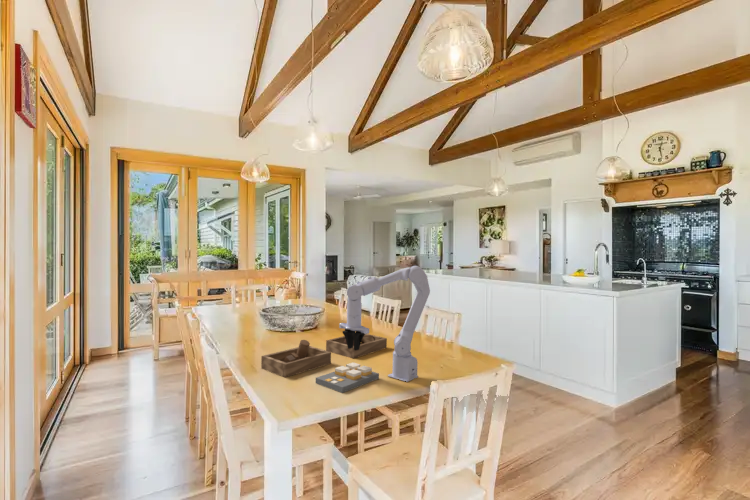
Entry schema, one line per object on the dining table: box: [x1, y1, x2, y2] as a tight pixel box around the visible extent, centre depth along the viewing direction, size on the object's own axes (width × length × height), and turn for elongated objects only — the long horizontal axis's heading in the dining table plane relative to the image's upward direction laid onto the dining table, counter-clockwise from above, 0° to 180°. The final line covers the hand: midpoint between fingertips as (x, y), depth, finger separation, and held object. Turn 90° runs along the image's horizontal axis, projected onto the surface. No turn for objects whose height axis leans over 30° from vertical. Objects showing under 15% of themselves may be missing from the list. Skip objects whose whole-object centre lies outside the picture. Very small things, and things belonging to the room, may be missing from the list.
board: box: [315, 371, 380, 394], centre depth 151 cm, size 14×20×2 cm
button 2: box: [346, 369, 361, 380], centre depth 149 cm, size 4×4×2 cm
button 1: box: [357, 365, 373, 376], centre depth 154 cm, size 4×4×2 cm
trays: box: [260, 333, 388, 378], centre depth 181 cm, size 18×60×5 cm, turn 140°
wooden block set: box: [284, 339, 311, 363], centre depth 166 cm, size 18×9×10 cm, turn 143°
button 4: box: [334, 365, 350, 377], centre depth 153 cm, size 4×4×2 cm
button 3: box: [345, 362, 361, 370], centre depth 158 cm, size 4×4×2 cm
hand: (353, 349), depth 158 cm, fingers open, 3 cm apart
